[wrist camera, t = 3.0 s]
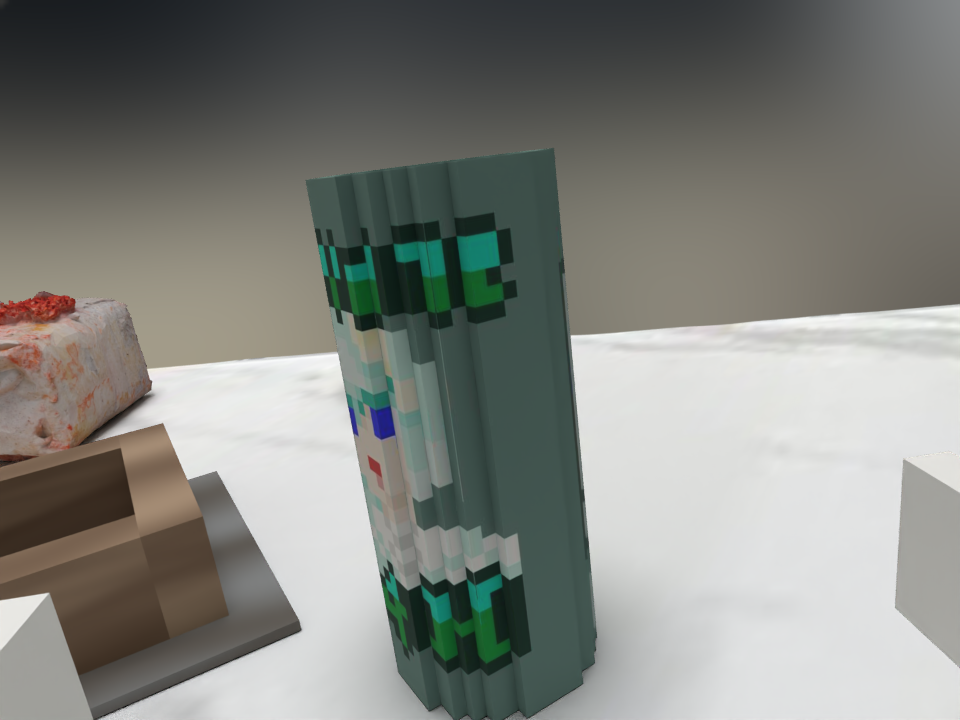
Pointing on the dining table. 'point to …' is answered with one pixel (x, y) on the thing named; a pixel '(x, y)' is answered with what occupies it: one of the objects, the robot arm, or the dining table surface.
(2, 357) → the food item
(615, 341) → the dining table surface
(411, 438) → the can
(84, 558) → the holder
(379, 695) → the dining table surface
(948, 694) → the dining table surface
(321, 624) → the dining table surface
